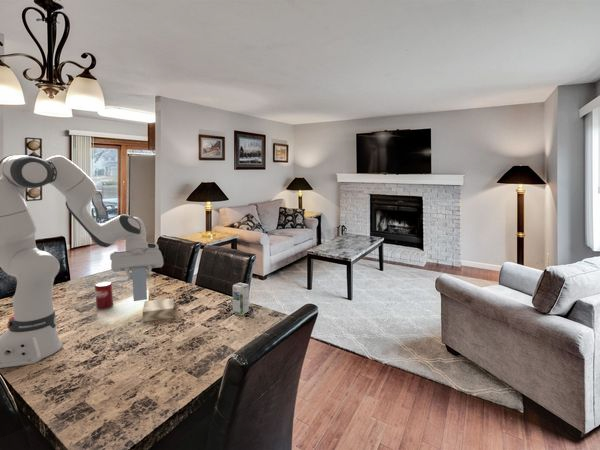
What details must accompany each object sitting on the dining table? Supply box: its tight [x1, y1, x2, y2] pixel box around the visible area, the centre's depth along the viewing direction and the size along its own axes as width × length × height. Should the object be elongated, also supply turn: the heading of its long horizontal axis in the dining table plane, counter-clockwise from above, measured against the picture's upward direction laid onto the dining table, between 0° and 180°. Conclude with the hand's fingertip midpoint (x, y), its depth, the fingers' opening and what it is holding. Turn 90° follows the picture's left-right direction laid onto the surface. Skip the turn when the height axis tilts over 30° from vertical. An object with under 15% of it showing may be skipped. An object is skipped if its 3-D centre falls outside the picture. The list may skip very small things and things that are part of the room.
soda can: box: [94, 281, 114, 310], centre depth 160 cm, size 7×7×12 cm
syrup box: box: [232, 282, 250, 316], centre depth 156 cm, size 6×6×14 cm
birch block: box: [142, 297, 175, 323], centre depth 154 cm, size 13×13×5 cm
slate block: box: [131, 267, 148, 302], centre depth 137 cm, size 5×5×13 cm
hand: (139, 277), depth 137 cm, fingers closed on slate block, 5 cm apart
